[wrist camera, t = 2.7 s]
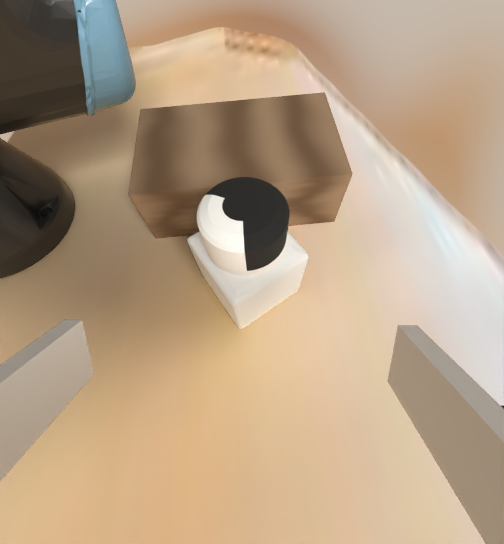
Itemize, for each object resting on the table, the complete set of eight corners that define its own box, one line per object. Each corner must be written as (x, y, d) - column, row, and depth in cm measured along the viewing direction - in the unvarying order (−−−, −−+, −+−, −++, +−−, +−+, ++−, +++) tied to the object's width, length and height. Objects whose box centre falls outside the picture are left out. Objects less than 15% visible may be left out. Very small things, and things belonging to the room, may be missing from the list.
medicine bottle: (258, 241, 30) (255, 148, 19) (300, 290, 27) (324, 214, 17) (202, 275, 28) (165, 195, 18) (240, 331, 26) (224, 277, 15)
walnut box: (155, 238, 31) (128, 194, 24) (161, 161, 36) (140, 109, 30) (334, 221, 31) (352, 173, 25) (314, 147, 36) (324, 92, 30)
